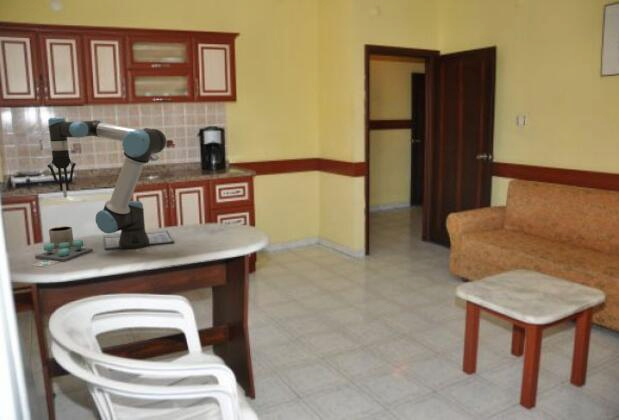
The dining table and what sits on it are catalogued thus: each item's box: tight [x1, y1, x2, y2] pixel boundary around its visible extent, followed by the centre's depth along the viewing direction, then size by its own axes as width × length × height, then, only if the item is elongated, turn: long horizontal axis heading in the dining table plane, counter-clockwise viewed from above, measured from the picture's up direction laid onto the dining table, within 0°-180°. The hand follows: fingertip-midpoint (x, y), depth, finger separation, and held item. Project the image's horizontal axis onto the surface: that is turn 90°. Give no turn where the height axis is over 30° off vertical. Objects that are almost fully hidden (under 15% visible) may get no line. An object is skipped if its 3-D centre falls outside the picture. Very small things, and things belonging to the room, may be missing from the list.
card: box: [31, 260, 60, 268], centre depth 238 cm, size 8×8×1 cm
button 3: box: [59, 242, 70, 249], centre depth 257 cm, size 5×5×4 cm
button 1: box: [72, 239, 84, 249], centre depth 253 cm, size 5×5×4 cm
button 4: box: [43, 242, 55, 253], centre depth 248 cm, size 5×5×4 cm
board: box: [34, 246, 94, 263], centre depth 251 cm, size 18×18×2 cm
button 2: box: [58, 248, 69, 257], centre depth 245 cm, size 5×5×4 cm
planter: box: [48, 226, 74, 249], centre depth 266 cm, size 11×11×10 cm
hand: (65, 197), depth 259 cm, fingers closed
